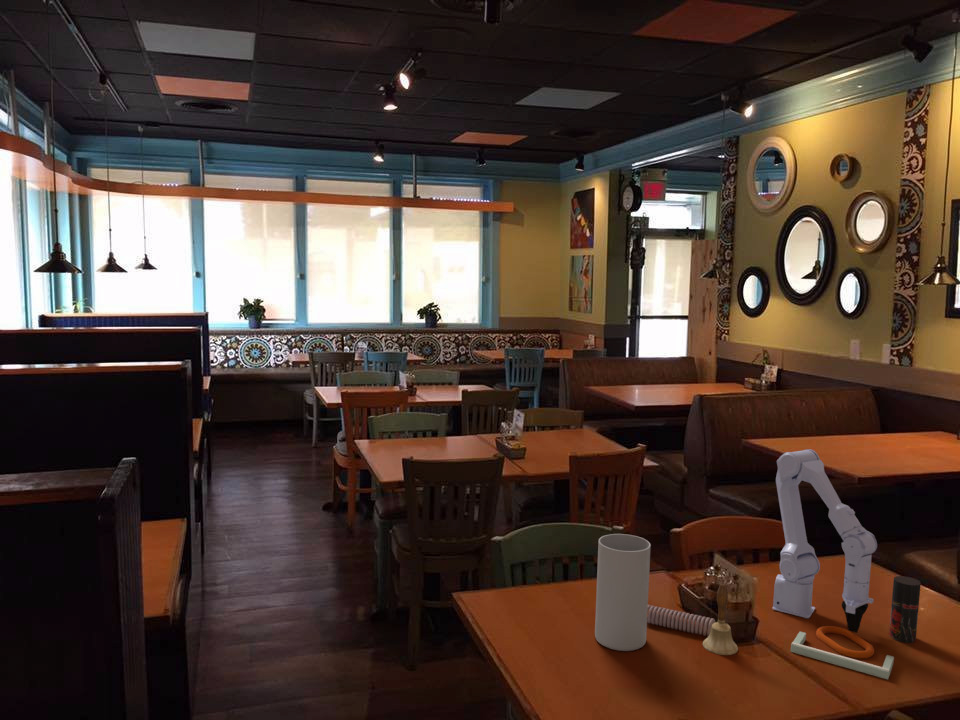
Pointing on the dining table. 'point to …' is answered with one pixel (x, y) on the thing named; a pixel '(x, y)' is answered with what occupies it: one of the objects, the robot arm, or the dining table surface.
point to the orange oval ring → (842, 650)
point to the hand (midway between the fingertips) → (853, 630)
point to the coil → (670, 620)
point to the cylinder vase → (622, 591)
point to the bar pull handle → (841, 658)
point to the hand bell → (721, 629)
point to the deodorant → (904, 609)
